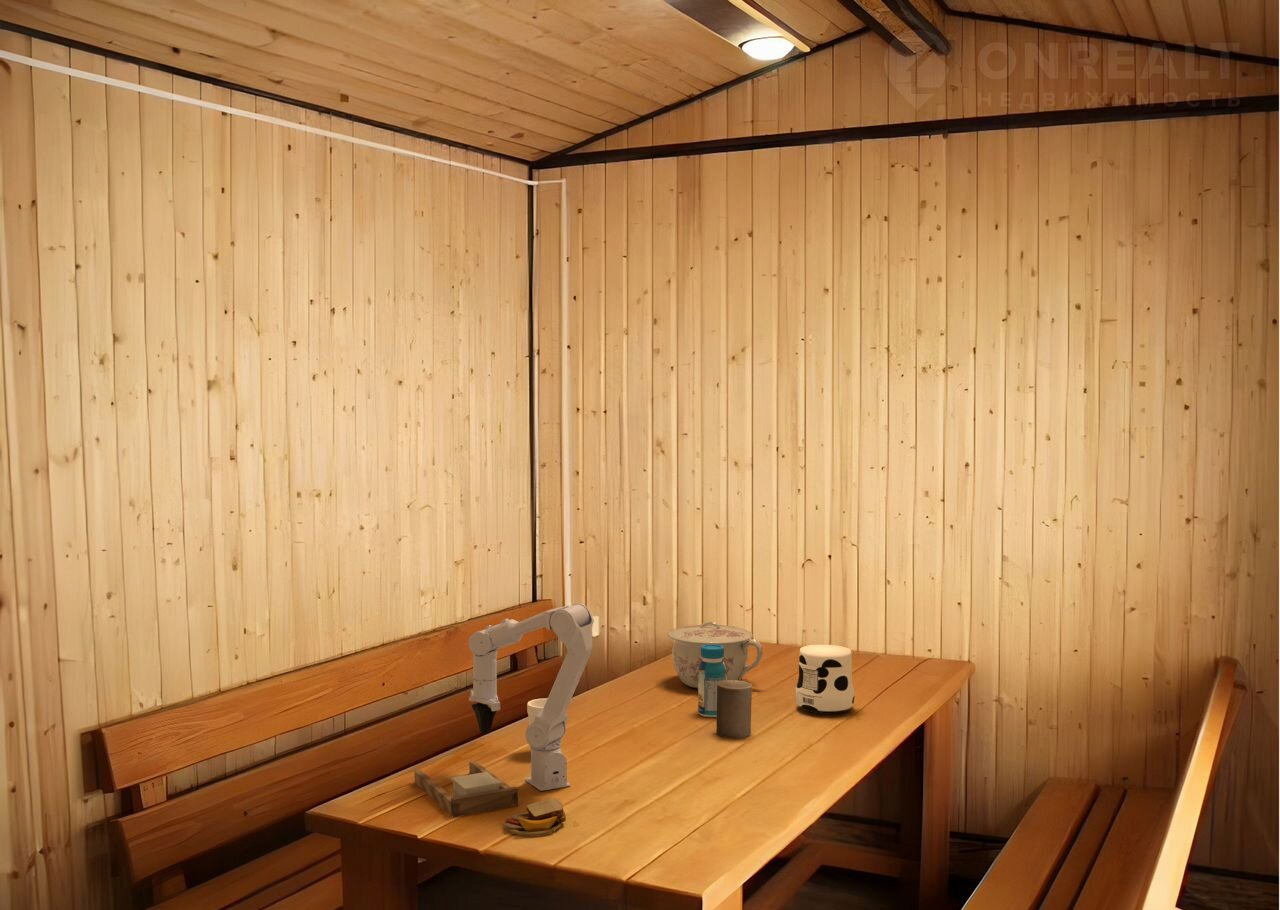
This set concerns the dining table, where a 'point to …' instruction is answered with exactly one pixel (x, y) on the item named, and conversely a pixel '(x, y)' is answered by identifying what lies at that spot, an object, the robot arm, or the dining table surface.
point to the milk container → (825, 679)
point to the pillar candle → (734, 708)
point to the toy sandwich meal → (537, 818)
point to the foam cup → (535, 708)
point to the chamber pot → (729, 637)
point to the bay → (470, 802)
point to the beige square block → (474, 784)
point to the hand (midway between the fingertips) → (485, 733)
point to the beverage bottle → (710, 678)
